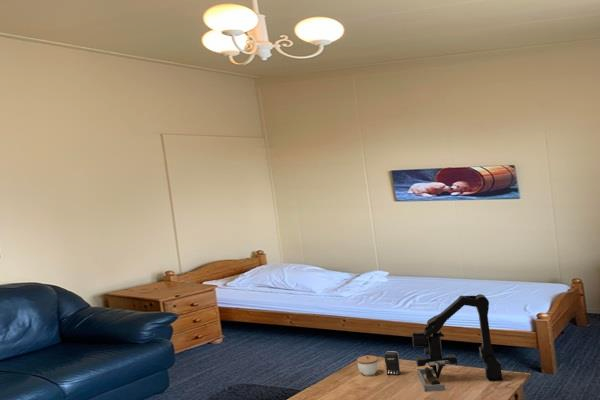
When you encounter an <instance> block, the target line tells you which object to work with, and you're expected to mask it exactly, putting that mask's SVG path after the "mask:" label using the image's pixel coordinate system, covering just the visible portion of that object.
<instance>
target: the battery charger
mask: <svg viewBox="0 0 600 400" xmlns="http://www.w3.org/2000/svg"><path fill="white" fill-rule="evenodd" d="M384 363H385V370H386V375H387V376H399V375H401V370H400V355H399V352H397V351H391V350H390V351H386V352H385V353H384Z"/></svg>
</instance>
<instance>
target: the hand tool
mask: <svg viewBox="0 0 600 400" xmlns="http://www.w3.org/2000/svg"><path fill="white" fill-rule="evenodd" d="M429 368H430V367H429V366H426V367H425V368H424V369H425V374H424V375H425V379H427V380H428V381H429V383H430V385H437V384H441V381H440V380H438V378H437V377H436V375H434V374H432V372H431V370H430V369H429Z"/></svg>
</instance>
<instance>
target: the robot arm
mask: <svg viewBox="0 0 600 400" xmlns="http://www.w3.org/2000/svg"><path fill="white" fill-rule="evenodd" d="M464 306H469V307H474V308H475V309H476V312H477V313H478V319H479V320H478V321H479V326H480V328H479V329H480V336H481V346H478V349H479V357H480V359H482V361H483V363H484V364H486V365H485V368H484V372H485V378H486V379H487V380H488V381H489V382H496V381H504V378H503V376H502V375H503V374H502V373H503V372H502V363H501V362H500V360H499V359H498V357H497V356H496V354H495V352H494V349H493V346H492V340H491V333H490V325H489V317H488V314H489V309H490V308H489V306H490V301H489V299H488V298H487V297H486V295H484V294H481V293H480V294H476V295H460V296H458V297H457V299H456V300H454V301H453V302H451V304H449V305H448V306H447V307H446V308H445V309H444V310H443V311H441V312H440V313H439V314H437V315H434V316H433V317H431V318H429V319H428V320H427V321H426V326H425V328H424V330H423V332H421V331H419V332H416V331H415V332H412V347H413V348H423V347H424V350H423V351H424V355H426V356H428V357H429V358H425V357H424V356H417V357H416V358H415V363H416V366H417V367H425V366H426V364H428V367H429V368H433V370H434V372H435V377H436V379H439V378H440V376H441V372H442V370H443V368H444V367H446V362H448V363H449V364H450V365H455V364H458V358H457V357H456V355H455V354H446V357H445V356H444V357H443V351H442V339H441V338H444V337H445V333H443V332H442V331H441V329H442V328H443V326H444V325H445V323H446V322H447V321H448V320H450V319H451V317H452V316H454V314H456V313H458V312H459V310H461V309H462V308H463V307H464ZM427 345H428V347H426V346H427ZM436 364H437V365H436Z"/></svg>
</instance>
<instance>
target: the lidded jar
mask: <svg viewBox="0 0 600 400" xmlns="http://www.w3.org/2000/svg"><path fill="white" fill-rule="evenodd" d="M356 361H357V367H358V371H360V373H361V374H362V375H363V376H366V377H367V376H368V377H369V376H374V375H375V373H376V372H378V368H379V357H377V356H375V355H368V354H367V355H361V356H360V357H357V359H356Z"/></svg>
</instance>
